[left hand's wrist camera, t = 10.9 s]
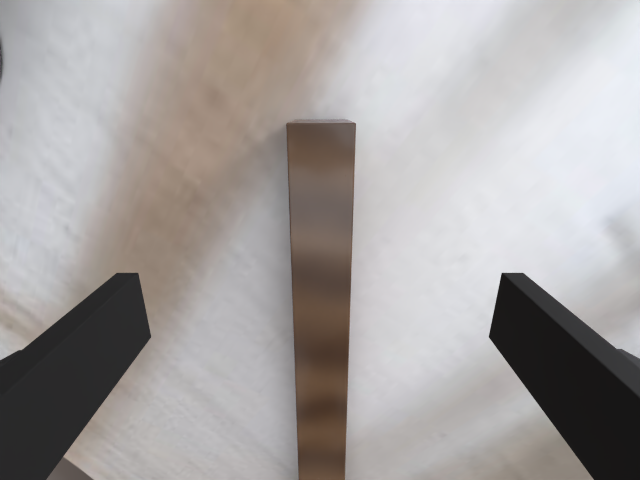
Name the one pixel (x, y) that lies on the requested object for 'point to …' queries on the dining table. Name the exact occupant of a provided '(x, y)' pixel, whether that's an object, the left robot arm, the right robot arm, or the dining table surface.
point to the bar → (321, 287)
